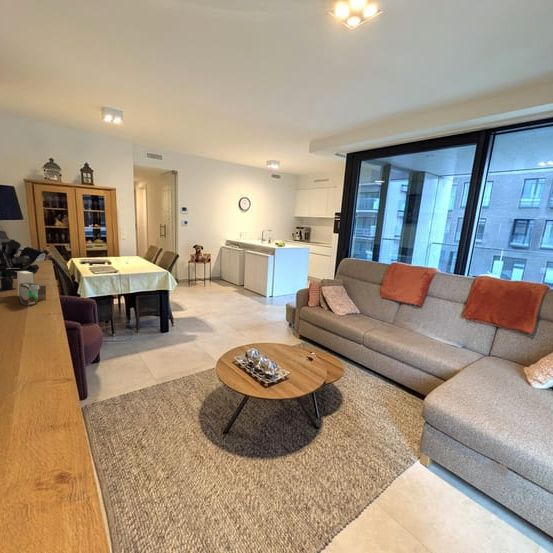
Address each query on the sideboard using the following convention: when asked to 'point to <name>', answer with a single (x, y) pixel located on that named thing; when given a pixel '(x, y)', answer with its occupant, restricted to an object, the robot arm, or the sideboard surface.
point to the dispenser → (39, 292)
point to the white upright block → (24, 278)
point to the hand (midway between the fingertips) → (23, 282)
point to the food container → (29, 293)
